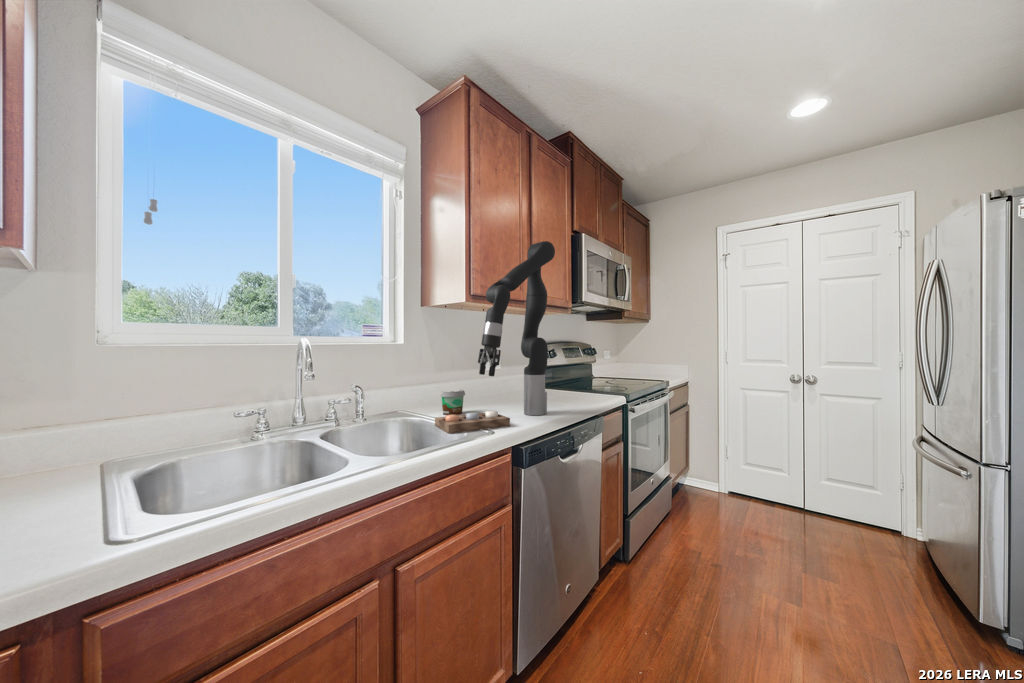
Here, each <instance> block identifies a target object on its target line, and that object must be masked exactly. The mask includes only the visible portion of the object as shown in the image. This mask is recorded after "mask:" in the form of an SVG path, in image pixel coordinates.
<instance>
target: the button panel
mask: <svg viewBox="0 0 1024 683" xmlns="http://www.w3.org/2000/svg"><path fill="white" fill-rule="evenodd" d="M478 413H479V419H474V420H467V419H466V414H459V421H455V422H446V421H445V416H439V417H434V426H435V427H437V428H438V429H440V430H442V431H443V432H445V433H446V434H455V433H457V434H458V433H466V432H473V431H479V430H480V429H483V430H489V429H488V428H491V429H497V428H498V429H499V428H506V427H511V426H510V425H511V418H510V417H508V416H505V415H504V414H503V415H502V414H499V413H498V417H493V418H487V417H485V412H478ZM480 431H481V430H480Z"/></svg>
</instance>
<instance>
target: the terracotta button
mask: <svg viewBox="0 0 1024 683" xmlns="http://www.w3.org/2000/svg"><path fill="white" fill-rule="evenodd" d="M459 415H460V414H459ZM459 415H444V417H445V421H446V422H455V421H459Z"/></svg>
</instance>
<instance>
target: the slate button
mask: <svg viewBox="0 0 1024 683" xmlns="http://www.w3.org/2000/svg"><path fill="white" fill-rule="evenodd" d="M479 413H480V412H467V413H465V415H466V419H467V420H474V419H479Z"/></svg>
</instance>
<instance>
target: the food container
mask: <svg viewBox="0 0 1024 683" xmlns="http://www.w3.org/2000/svg"><path fill="white" fill-rule="evenodd" d="M465 395H466V392H465V390H464V389H462V388H460V389H459V390H458V391H452V390H451V391H441V393H440V397H441V404H442V405H441V407H442V408H441V409H442V415H443V416H446V415H463V408H464V406H463V405H464V397H465Z"/></svg>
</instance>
